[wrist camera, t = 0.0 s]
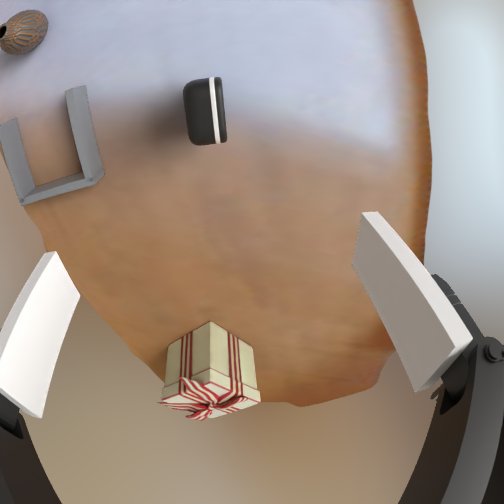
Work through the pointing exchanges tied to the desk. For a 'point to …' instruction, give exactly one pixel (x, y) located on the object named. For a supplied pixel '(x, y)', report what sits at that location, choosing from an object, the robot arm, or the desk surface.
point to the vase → (23, 32)
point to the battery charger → (205, 111)
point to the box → (84, 145)
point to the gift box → (210, 373)
